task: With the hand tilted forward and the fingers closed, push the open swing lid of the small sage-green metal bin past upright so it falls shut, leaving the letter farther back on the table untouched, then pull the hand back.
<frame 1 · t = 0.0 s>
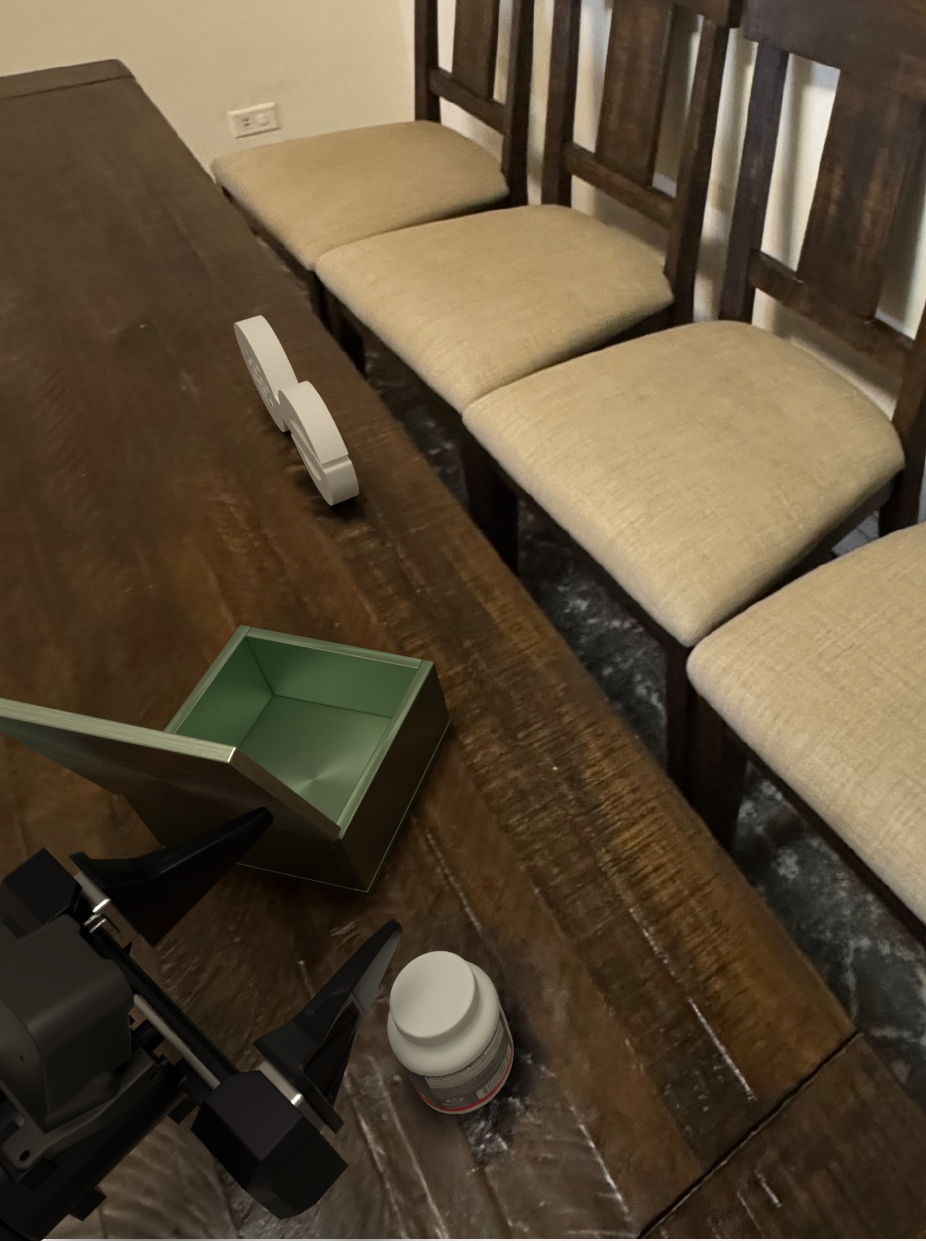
hand: (331, 865, 47), 15 cm above the table, tool horizontal, fingers open, 9 cm apart
bin: (317, 785, 66), on the table
letter: (309, 453, 90), on the table
bin lid: (167, 772, 50), point 14 cm above the table, hinge at 104.0°
pill bottle: (465, 1062, 54), on the table
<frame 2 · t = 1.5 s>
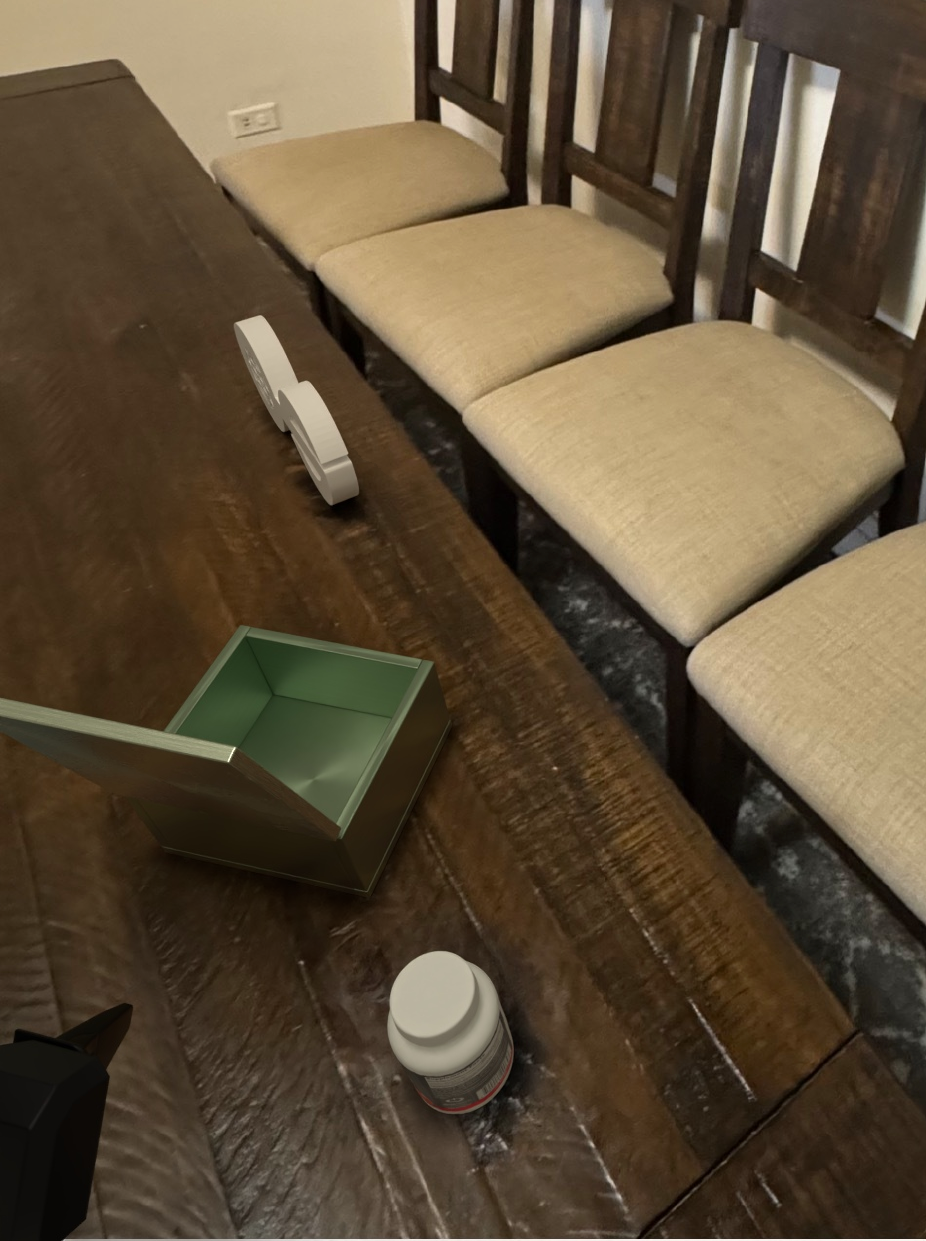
hand: (32, 989, 43), 14 cm above the table, tool tilted 45°, fingers open, 9 cm apart
nothing on the table moved.
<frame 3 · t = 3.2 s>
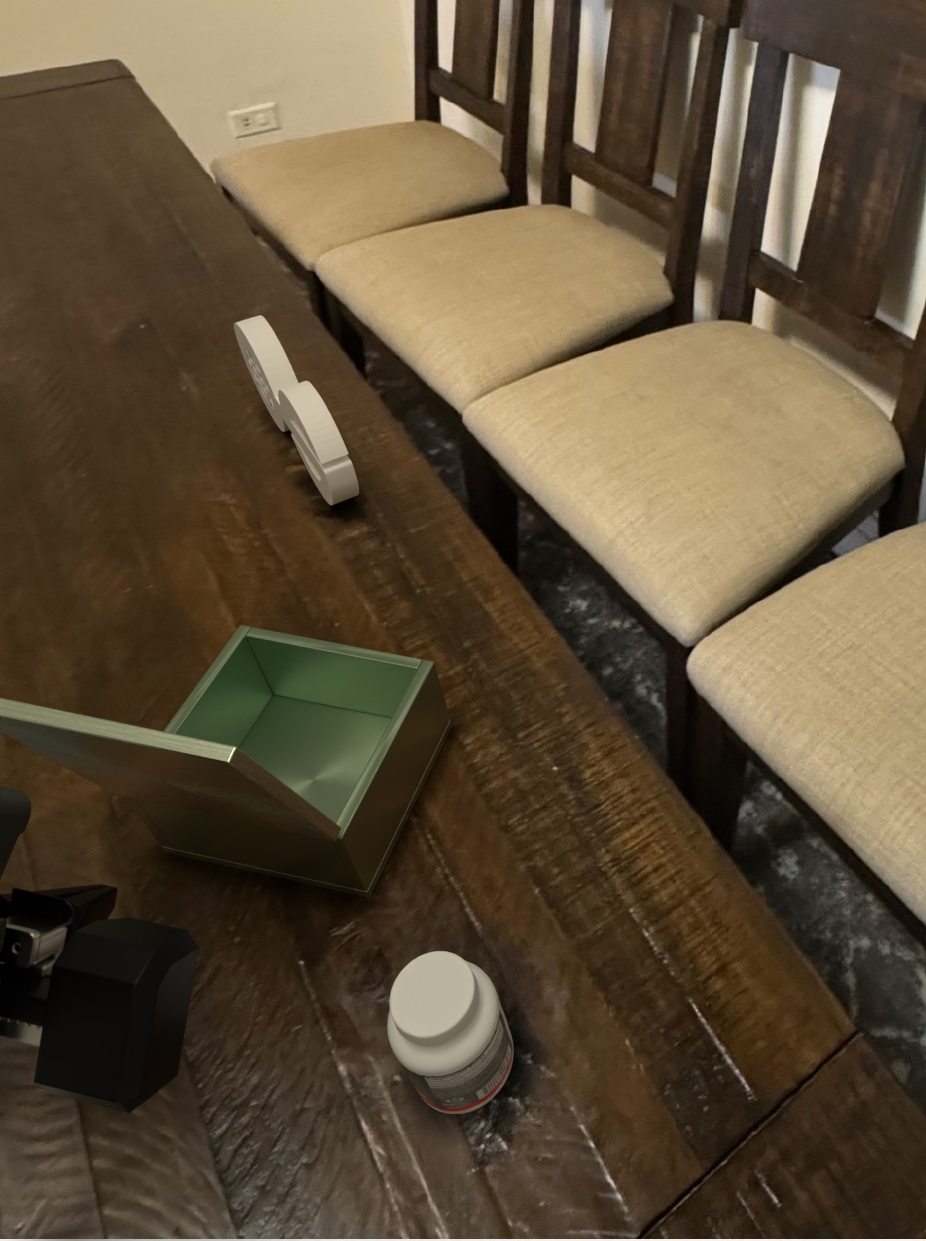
hand: (109, 896, 47), 13 cm above the table, tool tilted 45°, fingers closed
nothing on the table moved.
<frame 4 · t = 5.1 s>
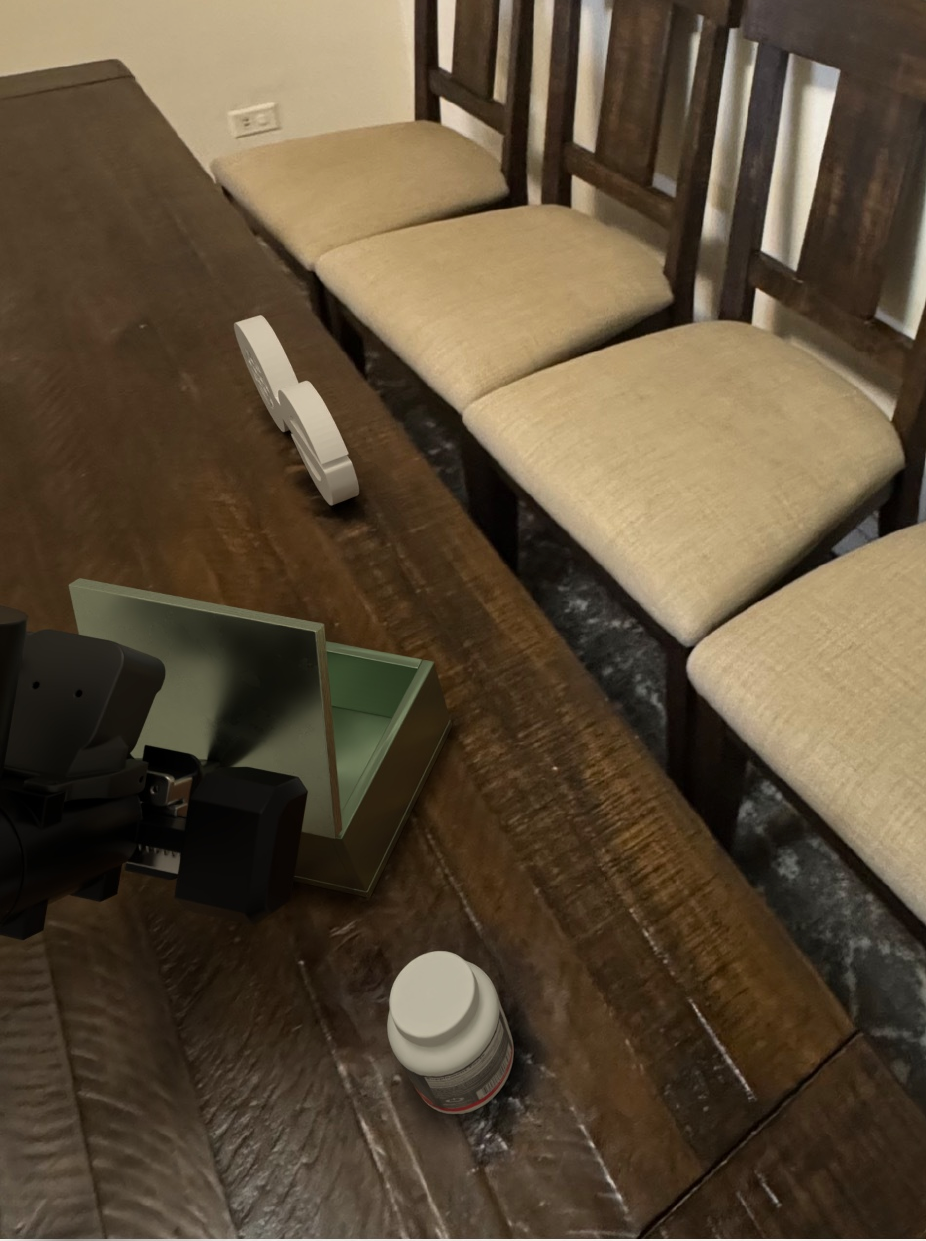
hand: (212, 769, 54), 11 cm above the table, tool tilted 45°, fingers closed, pressing on bin lid
bin lid: (211, 712, 53), point 14 cm above the table, hinge at 70.7°, touching gripper
everything else where it was.
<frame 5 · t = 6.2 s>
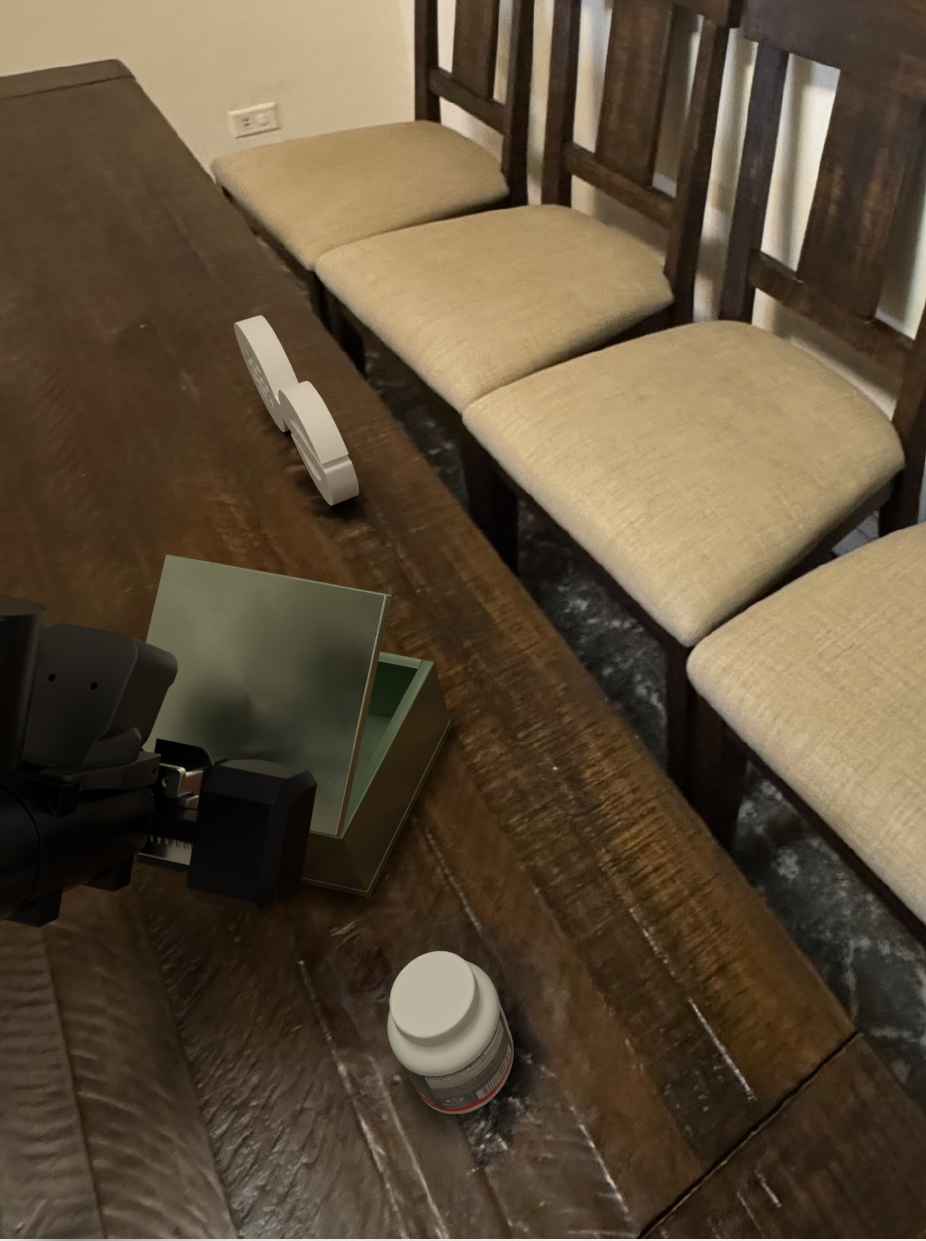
hand: (221, 765, 55), 11 cm above the table, tool tilted 45°, fingers closed
bin lid: (252, 691, 57), point 12 cm above the table, hinge at 39.9°
everything else where it was.
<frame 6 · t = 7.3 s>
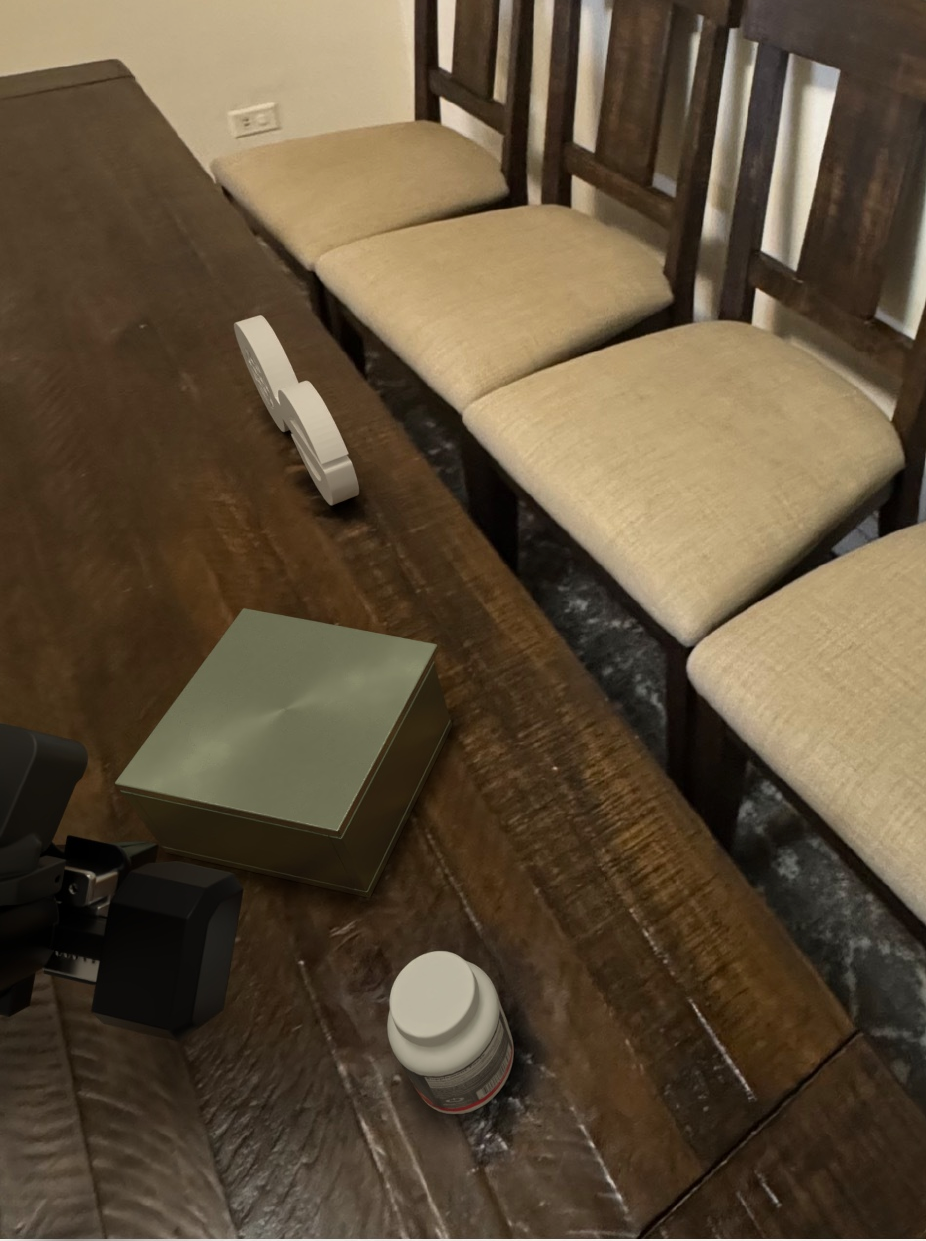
hand: (150, 852, 50), 12 cm above the table, tool tilted 45°, fingers closed
bin lid: (287, 712, 61), point 8 cm above the table, hinge at -0.2°
everything else where it was.
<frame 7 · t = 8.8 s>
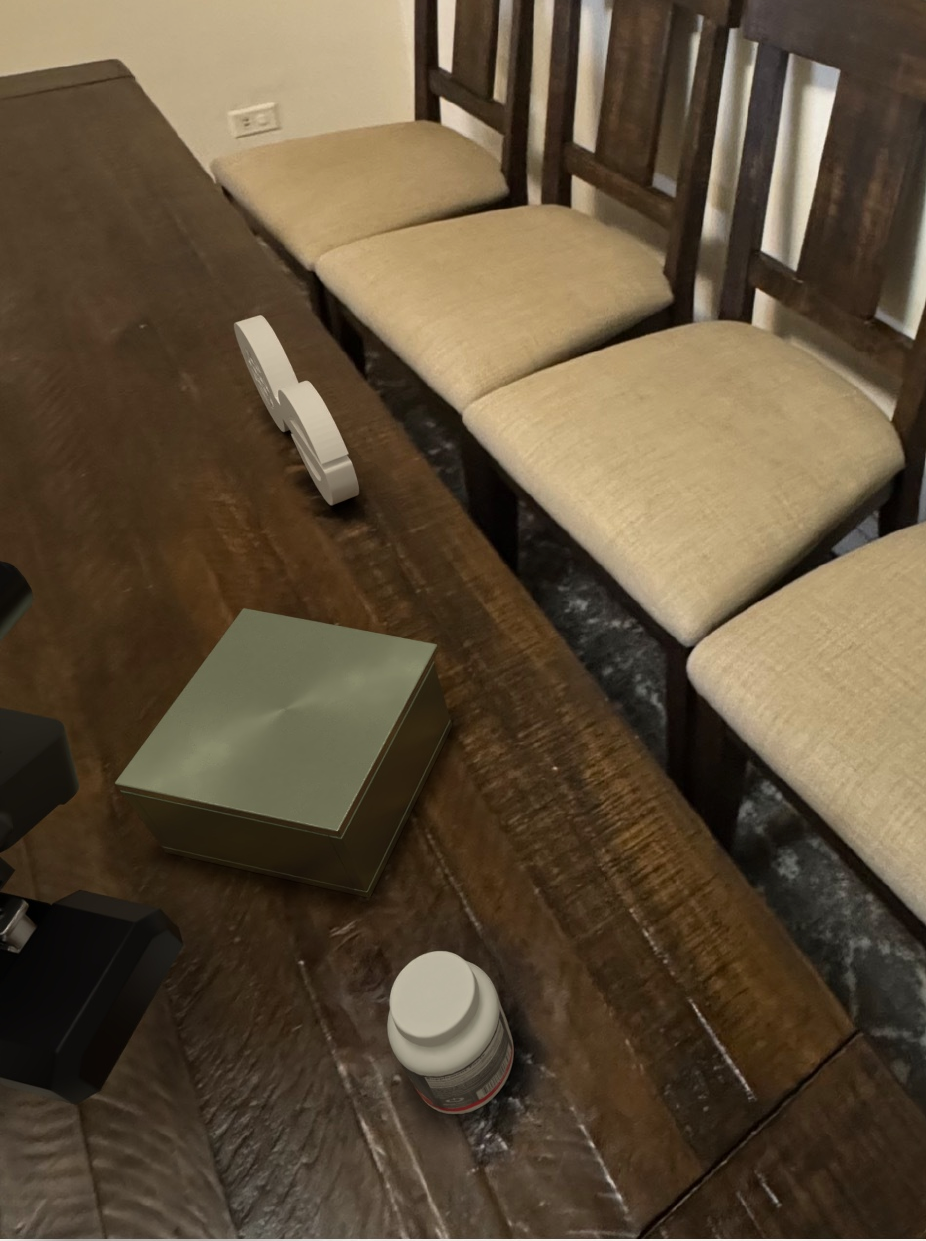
hand: (14, 1022, 43), 13 cm above the table, tool pointing down, fingers closed
nothing on the table moved.
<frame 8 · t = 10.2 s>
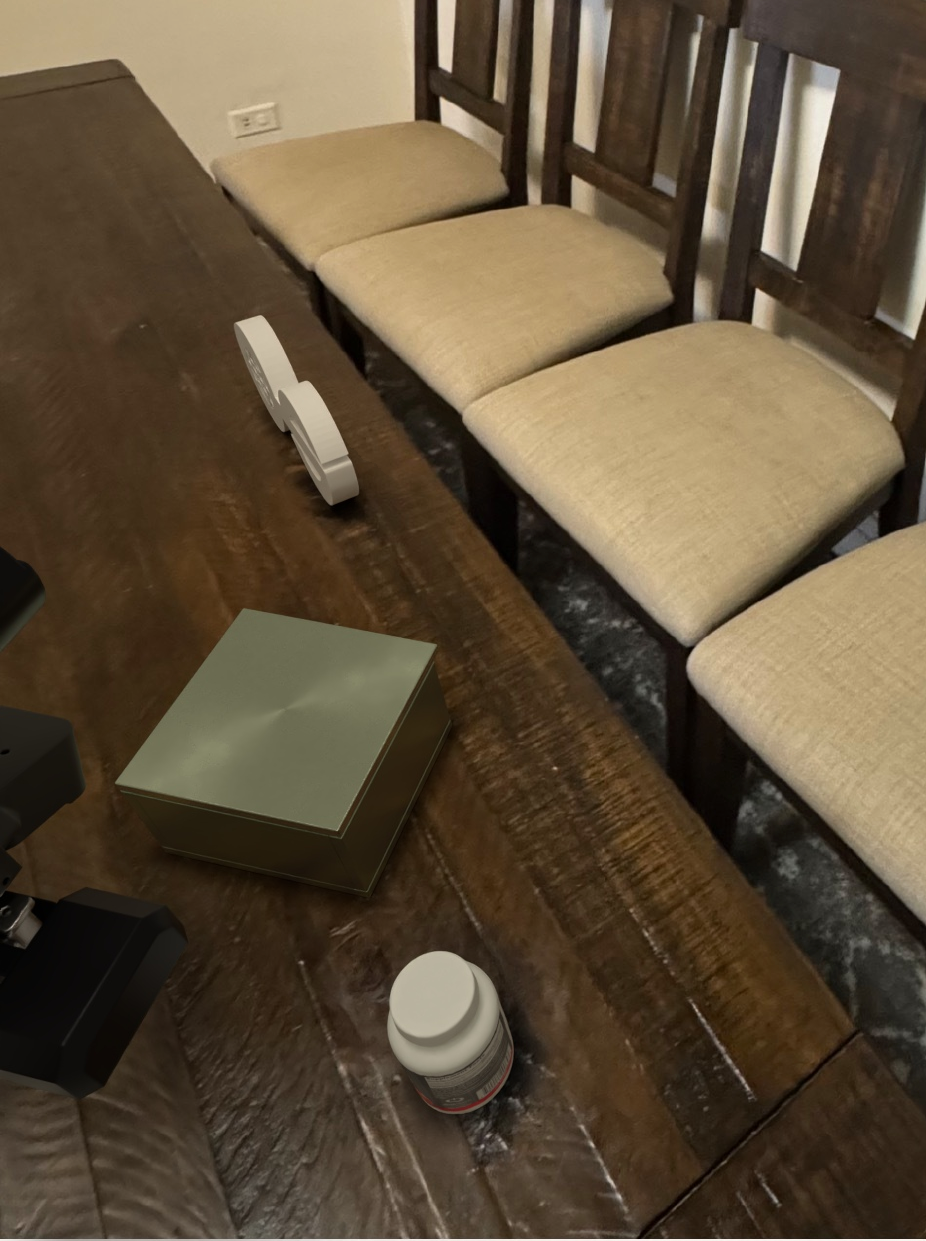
hand: (16, 1024, 43), 13 cm above the table, tool pointing down, fingers closed
nothing on the table moved.
at the end: bin lid at +0° (first picture: +104°); letter moved 0.2 cm from its start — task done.
